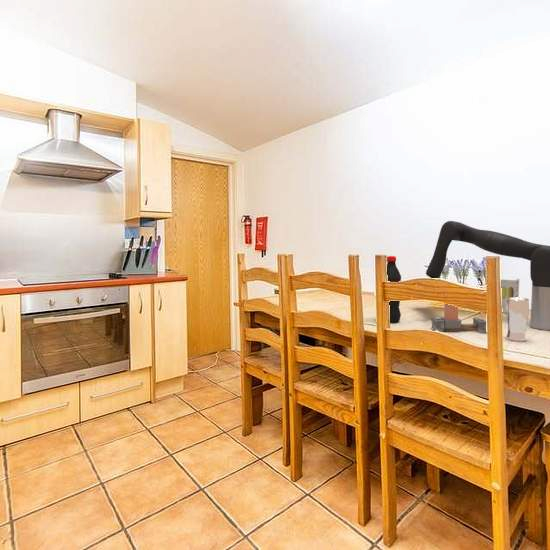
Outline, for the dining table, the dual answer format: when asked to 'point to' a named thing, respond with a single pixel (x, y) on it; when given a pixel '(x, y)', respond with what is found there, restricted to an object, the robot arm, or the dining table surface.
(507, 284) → the supplement box
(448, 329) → the rail
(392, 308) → the cola bottle
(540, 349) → the dining table surface
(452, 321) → the tall salmon pink pillar
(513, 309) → the beer glass
